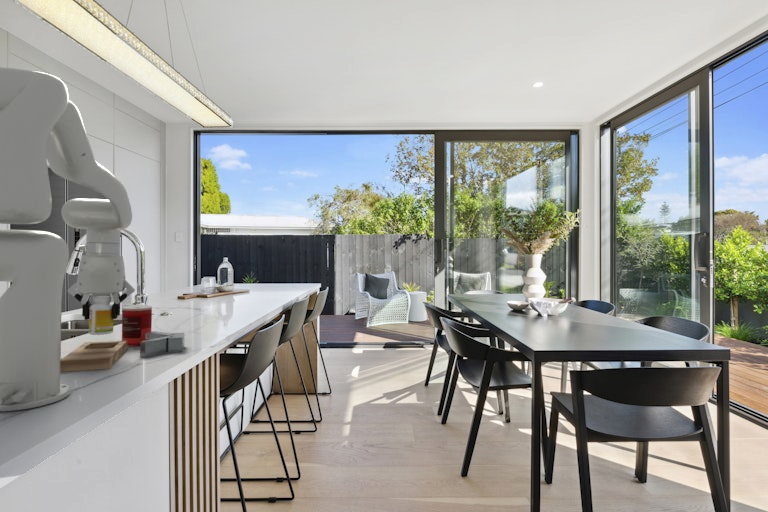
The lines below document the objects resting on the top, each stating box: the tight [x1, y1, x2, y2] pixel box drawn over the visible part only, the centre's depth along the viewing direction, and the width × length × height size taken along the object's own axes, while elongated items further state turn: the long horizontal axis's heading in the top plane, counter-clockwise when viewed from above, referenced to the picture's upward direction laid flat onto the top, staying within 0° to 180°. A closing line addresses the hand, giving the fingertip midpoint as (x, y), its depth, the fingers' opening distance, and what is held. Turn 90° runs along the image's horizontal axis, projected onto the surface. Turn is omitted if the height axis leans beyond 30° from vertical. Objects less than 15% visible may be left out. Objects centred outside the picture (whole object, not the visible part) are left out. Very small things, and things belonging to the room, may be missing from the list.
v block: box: [139, 330, 186, 358], centre depth 119 cm, size 10×16×4 cm, turn 21°
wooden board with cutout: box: [60, 340, 128, 373], centre depth 107 cm, size 20×10×2 cm, turn 21°
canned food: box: [121, 304, 153, 347], centre depth 126 cm, size 8×8×11 cm
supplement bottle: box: [88, 295, 114, 336], centre depth 111 cm, size 5×5×10 cm
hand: (101, 318), depth 111 cm, fingers closed on supplement bottle, 5 cm apart
